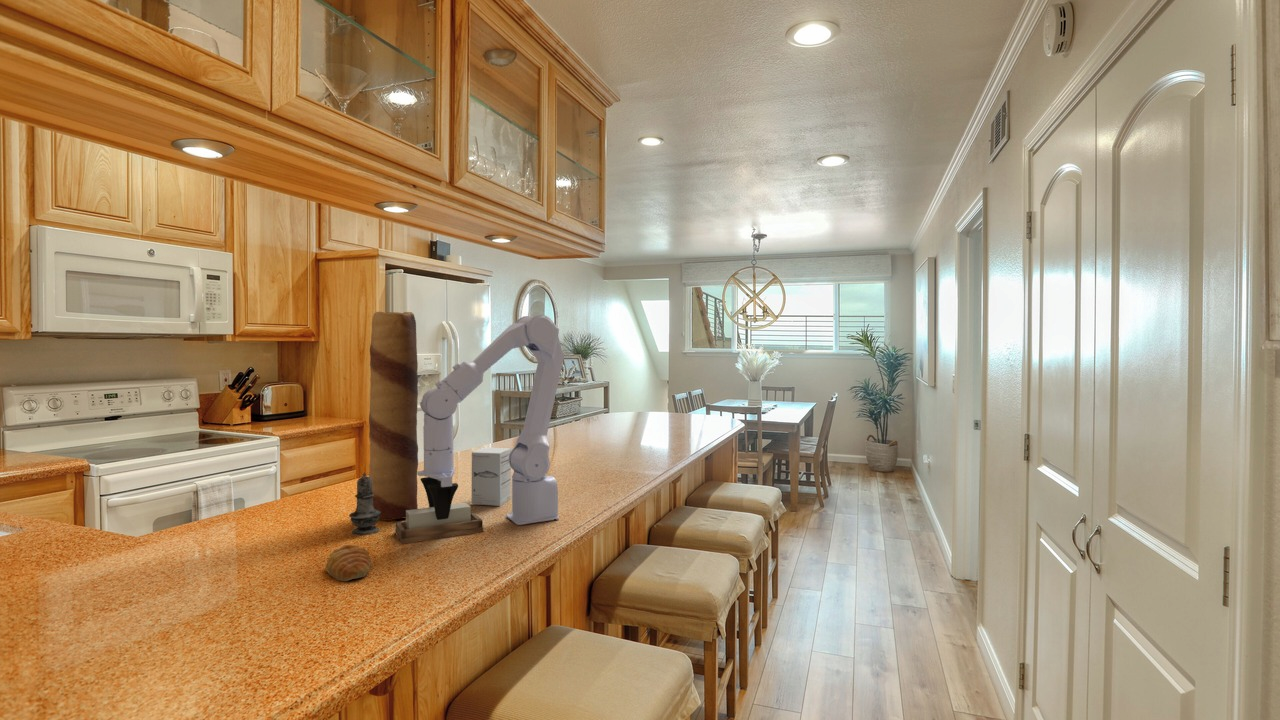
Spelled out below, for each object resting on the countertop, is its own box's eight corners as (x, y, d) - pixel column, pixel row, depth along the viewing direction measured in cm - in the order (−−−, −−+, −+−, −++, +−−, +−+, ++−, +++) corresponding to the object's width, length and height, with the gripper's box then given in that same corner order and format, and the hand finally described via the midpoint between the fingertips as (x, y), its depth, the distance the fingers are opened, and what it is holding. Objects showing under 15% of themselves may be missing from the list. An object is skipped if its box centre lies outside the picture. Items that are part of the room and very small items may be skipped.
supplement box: (470, 505, 148) (470, 451, 147) (483, 497, 155) (483, 446, 155) (500, 506, 146) (500, 452, 146) (512, 498, 154) (511, 447, 153)
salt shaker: (386, 527, 130) (385, 469, 130) (371, 536, 124) (370, 475, 124) (359, 526, 131) (358, 469, 130) (343, 535, 125) (342, 475, 125)
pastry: (378, 578, 103) (377, 555, 103) (333, 587, 99) (332, 564, 99) (365, 561, 111) (365, 540, 111) (323, 569, 107) (322, 547, 107)
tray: (472, 521, 134) (472, 511, 134) (483, 531, 128) (483, 520, 127) (395, 532, 127) (395, 521, 127) (401, 543, 120) (401, 532, 120)
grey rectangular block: (466, 521, 132) (466, 502, 131) (470, 526, 128) (470, 506, 128) (406, 530, 126) (405, 510, 125) (409, 535, 123) (408, 514, 122)
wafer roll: (426, 509, 144) (424, 312, 143) (409, 522, 134) (407, 310, 132) (380, 509, 144) (378, 312, 143) (360, 522, 134) (358, 310, 132)
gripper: (411, 444, 131) (412, 509, 131) (425, 455, 118) (425, 527, 119) (446, 441, 134) (446, 505, 135) (462, 452, 122) (463, 522, 122)
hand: (439, 515), depth 127 cm, fingers open, 5 cm apart
